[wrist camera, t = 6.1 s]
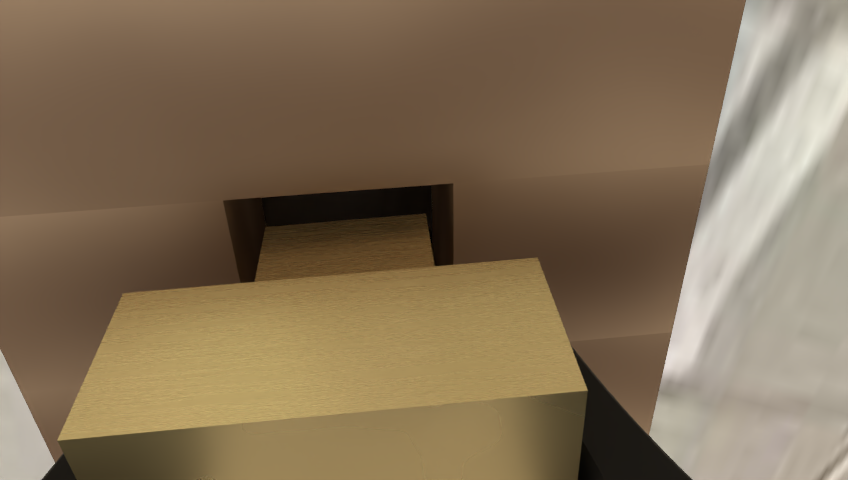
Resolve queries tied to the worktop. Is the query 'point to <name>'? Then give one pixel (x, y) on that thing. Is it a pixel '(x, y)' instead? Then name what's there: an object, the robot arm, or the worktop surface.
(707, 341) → the worktop surface
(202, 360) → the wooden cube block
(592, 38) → the brown wooden block
